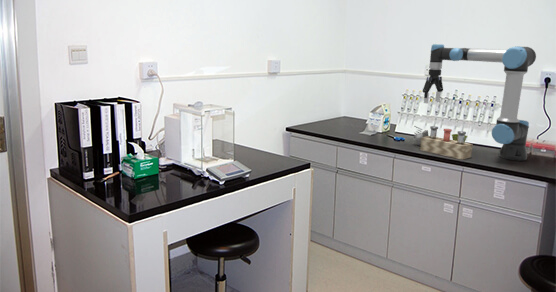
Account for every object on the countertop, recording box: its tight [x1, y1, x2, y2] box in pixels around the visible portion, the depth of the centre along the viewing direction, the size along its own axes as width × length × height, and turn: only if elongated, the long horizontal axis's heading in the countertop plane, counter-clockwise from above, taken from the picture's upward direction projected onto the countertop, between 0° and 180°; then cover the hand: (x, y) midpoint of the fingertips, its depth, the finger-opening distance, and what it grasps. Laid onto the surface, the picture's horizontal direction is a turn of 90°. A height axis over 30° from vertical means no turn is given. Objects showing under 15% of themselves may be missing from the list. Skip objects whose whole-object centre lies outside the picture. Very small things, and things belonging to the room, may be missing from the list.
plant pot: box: [451, 133, 468, 143], centre depth 288 cm, size 9×9×9 cm
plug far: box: [429, 125, 439, 139], centre depth 279 cm, size 5×5×10 cm
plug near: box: [457, 130, 467, 145], centre depth 266 cm, size 5×5×10 cm
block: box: [419, 135, 474, 161], centre depth 274 cm, size 28×10×8 cm, turn 40°
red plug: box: [442, 128, 453, 142], centre depth 273 cm, size 5×5×10 cm
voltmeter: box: [413, 125, 430, 147], centre depth 299 cm, size 27×11×10 cm, turn 8°
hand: (431, 102), depth 291 cm, fingers open, 13 cm apart
